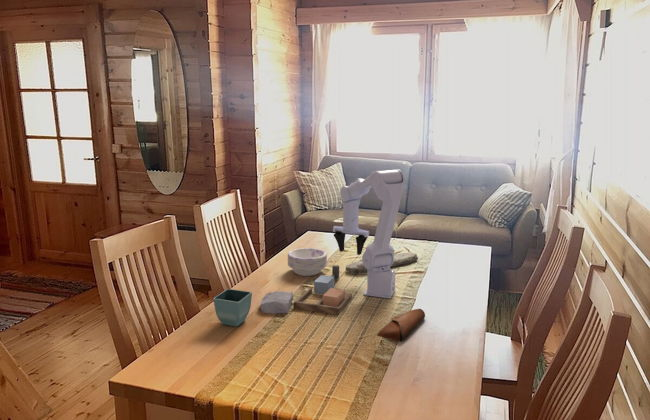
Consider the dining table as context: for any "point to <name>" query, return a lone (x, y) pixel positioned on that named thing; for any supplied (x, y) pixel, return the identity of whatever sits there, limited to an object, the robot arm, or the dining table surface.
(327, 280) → the grey mallet
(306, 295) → the lane rack
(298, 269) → the paper bowls
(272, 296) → the stone block
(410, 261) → the long grey stone
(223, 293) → the flower pot
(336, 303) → the terracotta block
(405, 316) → the sunglasses case
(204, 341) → the dining table surface
